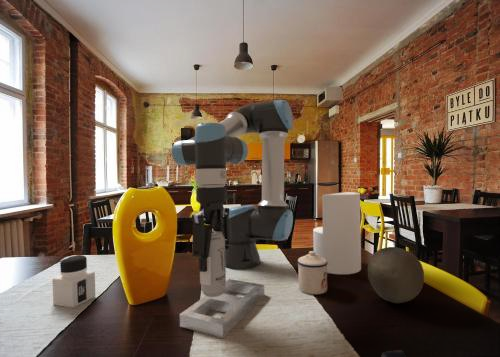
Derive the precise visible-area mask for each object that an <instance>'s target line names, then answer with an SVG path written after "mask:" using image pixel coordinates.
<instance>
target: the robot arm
mask: <svg viewBox="0 0 500 357" xmlns="http://www.w3.org/2000/svg"><path fill="white" fill-rule="evenodd" d="M293 128H294V116H293V112H292V109H291V106H290V104H289V103H288V101H287V100H285V99H277V100H276V99H274V100H269V101H263V102H262V101H261V102H255V103H249V104H246V105H243V106H241V107H239V108H237V109H234V110H233V111H232V112H229V113H228V114H227V115H226V116H225V119H223V120H221V121H219V122H210V121H209V122H201V123H198V124H197V125H196V126H195V129H194V136H193V137H191V138H190V139H187V140H185V139H182V140H178V141H175V142H174V144H173V145H172V148H171V157H172V160H173V161H174V163H175V164H177V165H179V166H195V185H196V186H198V187H196V188H195V194H196V196H195V199H196V202H197V203H198V204H200V206H199V208H198V209H199V211H198V212H197V213H192V214H191V221H192V254H191V255H192V257H194V258H198V264H199V266H198V270H199V285H200V284H204V285H211V257H208V256H209V249H210V242H211V235H212V231H221V232H222V235H223V236H224V238H225V273H226V272H227V271H226V268H229V269H237V270H240V269H241V270H244V269H251V268H255V267H257V266H259V265H260V264H261V255H260V253H259V250H258V247H257V244H256V240H267V241H274V242H275V241H279V242H280V241H281V242H282V241H283V242H284V241H286V240H287V239H288V238H289V237H290V235H291V232H292V230H293V229H292V228H293V222H294V215H293V211H292V210H291V209H289V205H288V203H286V201H285V139H286V138H287V137H288V136H289V131H291V130H292V129H293ZM250 133H251V134H252V133H258V136H259V138H260V139H262V140H261V141H262V145H261V146H262V149H261V150H262V152H261V156H262V157H261V201H260V202H258V204H257V208H256V206H255V205H254V204H248V205H240V206H234V207H224V203H225V202H226V201H227V200H228V191H227V187H226V186H225V185H227V175H228V174H227V164H229V165H237V164H241V163H244V161H245V160H246V159H247V158H248V155H249V147H248V144H247V143H246V142H245V141H244V140H243V139H241V138H239V137H241V136H242V135H245V134H250ZM204 252H205V253H204ZM226 274H227V273H226Z"/></svg>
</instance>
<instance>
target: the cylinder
mask: <svg viewBox="0 0 500 357" xmlns="http://www.w3.org/2000/svg"><path fill="white" fill-rule="evenodd" d="M321 197H322V198H321V202H322V203H321V205H322V206H321V210H322V212H321V214H322V215H321V216H322V226H317V227H314V228H313V229H312V230H313V231H312V232H313V233H312V234H313V251H314V252H315V253H316V255H318V256H320V257H323V258H325V259H326V260H327V262H328V264H327V274H334V275H351V274H352V275H353V274H357V273H358V272H359V273H360V271H361V270H362V246H361V242H362V240H361V238H362V236H361V234H362V233H361V194H360V192H352V191H346V192H344V191H343V192H337V193H336V192H335V193H326V194H322V195H321Z"/></svg>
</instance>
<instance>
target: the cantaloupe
mask: <svg viewBox="0 0 500 357" xmlns="http://www.w3.org/2000/svg"><path fill="white" fill-rule="evenodd" d="M366 270H367V277H368V280H369V283H370V285H371V287H372V289H373V290H374V291H375V293H376V294H377V295H378V296H379V297H380V298H381V299H383V300H385V301H386V302H389V303H393V304H402V303H406V302H410V301H412V300H414V299H415V298H416V297H417V296H418V295H419V294H420V292H421V291H422V289H423V287H424V281H425V270H424V268H423V265H422V262H421V261H420V260H419V258H418V257H417V256H416V255H414V254H413V253H412V252H410V251H408V250H406V249H404V248H402V247H401V248H400V247H397V246H388V247H383V248H382V247H381V248H380V249H378V250H377V251H375V252H374V254H373V255H372V256H371V257H370V259H369V262H368V265H367V269H366Z"/></svg>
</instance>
